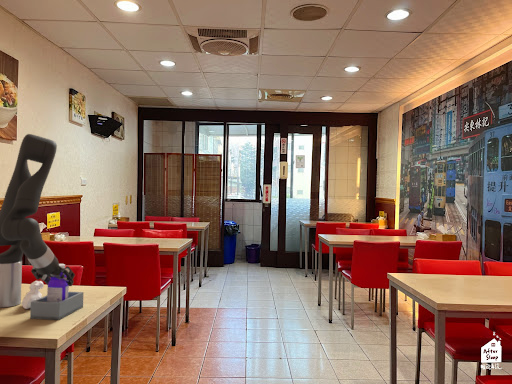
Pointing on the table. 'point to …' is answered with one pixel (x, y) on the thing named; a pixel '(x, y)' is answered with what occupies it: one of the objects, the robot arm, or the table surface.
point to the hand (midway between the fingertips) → (60, 283)
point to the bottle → (57, 288)
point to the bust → (32, 294)
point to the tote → (56, 307)
